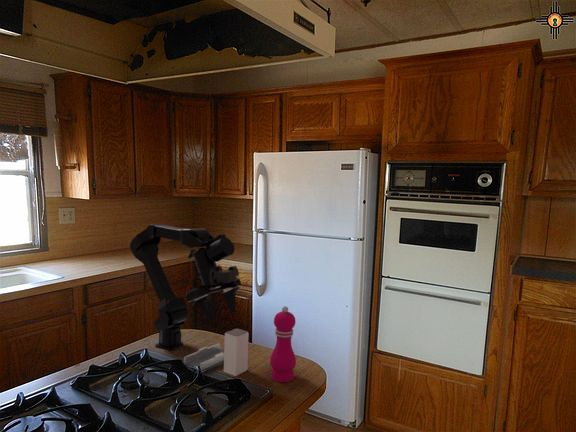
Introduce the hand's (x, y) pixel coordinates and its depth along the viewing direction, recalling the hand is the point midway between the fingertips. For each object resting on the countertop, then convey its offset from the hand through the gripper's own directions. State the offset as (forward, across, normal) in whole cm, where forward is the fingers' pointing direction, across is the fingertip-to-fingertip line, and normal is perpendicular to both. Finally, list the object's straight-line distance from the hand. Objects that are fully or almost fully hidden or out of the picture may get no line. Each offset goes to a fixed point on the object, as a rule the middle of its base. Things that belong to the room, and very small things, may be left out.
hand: (224, 316), depth 116 cm
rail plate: (+11, -1, +10) cm, 15 cm away
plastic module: (+15, -2, +1) cm, 16 cm away
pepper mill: (+22, +3, -10) cm, 24 cm away
